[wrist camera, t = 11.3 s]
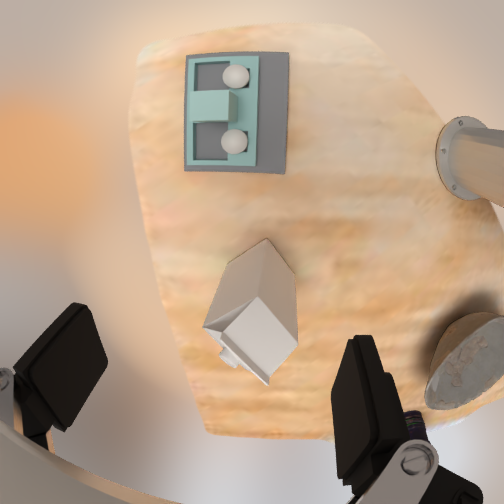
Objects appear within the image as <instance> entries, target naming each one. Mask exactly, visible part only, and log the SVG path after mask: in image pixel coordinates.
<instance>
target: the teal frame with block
mask: <svg viewBox="0 0 504 504" xmlns="http://www.w3.org/2000/svg"><path fill="white" fill-rule="evenodd" d="M222 63H230V66H231V65H235V64H238V65H242V66H244V67H245V68H246V69H247V71H250V80H249V88H239V89H233V88H229V90H208V91H197V73H198V65H205V64H222ZM259 64H260V58H259V56H225V57H208V58H196V59H189V64H188V88H187V165H233V166H256V161H257V129H258V97H259ZM218 122H228V130H231V129H238V130H241V131H248V150H247V151H242V152H241V153H238V154H230V153H228V159H196V123H218Z"/></svg>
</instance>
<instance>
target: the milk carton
mask: <svg viewBox="0 0 504 504" xmlns="http://www.w3.org/2000/svg"><path fill="white" fill-rule="evenodd" d="M203 328H204V329H205V331H206V332H207V333H208V334H209V335H210V336H211V337H212V338H213V339H214V340H215V341H216V342H217V343H218V344H219V345H220V346H221V347H222V348H223V350H222V351H221V352H220V353H219V356H220V358H221V359H222V360H223V361H224V362H226V363H227V364H228V365H230V366H231V367H234V368H236V367H237V366H238V365H239V364H240V365H241V366H242V367H243V368H245V369H246V370H249V371H251V372H252V373H253V374H255V375H256V376H257V377H258V378H259V379H260V380H261V381H262V382H263V383H264V384H265V385H269V377H270V376H271V375H272V374H273V373H274V372H275V371H276V370H277V368H278V367H279V366H280V365H281V364H282V363H283V362H284V361H285V359H286V358H287V357H288V356H289V355H290V354H291V353H292V351H293V350H294V349H295V348H296V347H297V346H298V327H297V306H296V288H295V275H294V273H293V272H292V271H291V269H290V268H289V267H288V265H287V264H286V263H285V261H284V260H283V259H282V257H281V256H280V255H279V253H278V252H277V251H276V249H275V248H274V247H273V245H272V244H271V243H270V241H269V240H268V239H267V238H266V239H265V240H263V241H261V242H260V243H258V244H257V245H255V246H254V247H252V248H251V249H249V250H248V251H246V252H245V253H243V254H242V255H240V256H238V257H237V258H235V259H234V260H232V261H231V262H229V263H228V264H227V266H226V268H225V271H224V273H223V276H222V278H221V281H220V283H219V286H218V288H217V291H216V294H215V296H214V299H213V301H212V304H211V306H210V309H209V311H208V314H207V316H206V319H205V322H204V324H203Z"/></svg>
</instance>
